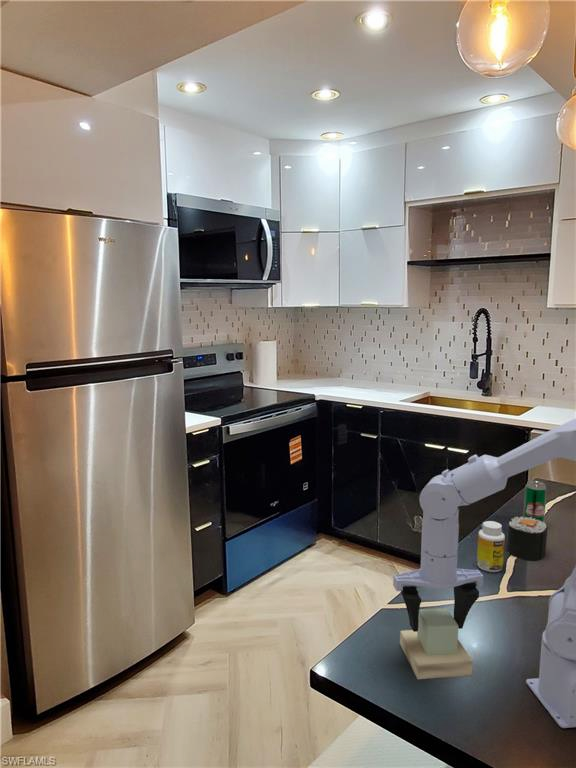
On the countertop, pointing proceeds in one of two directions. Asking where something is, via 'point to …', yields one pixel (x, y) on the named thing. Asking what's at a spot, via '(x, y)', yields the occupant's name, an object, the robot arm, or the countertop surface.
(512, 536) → the sushi
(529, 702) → the countertop surface
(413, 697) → the countertop surface
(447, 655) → the maple block
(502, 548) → the supplement bottle
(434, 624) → the green cube
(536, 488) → the soda can
